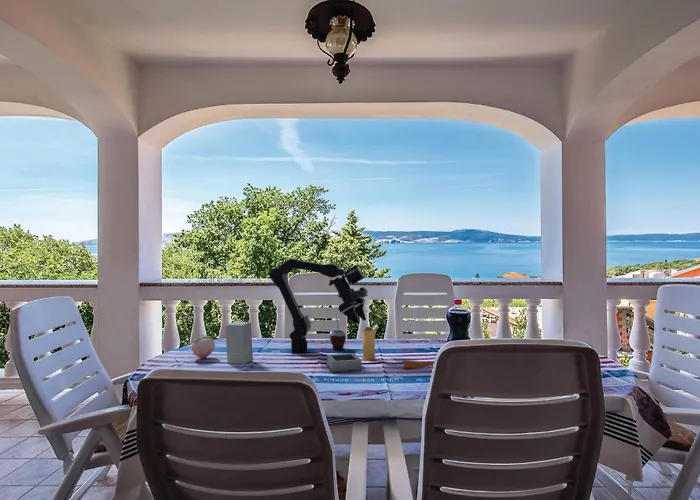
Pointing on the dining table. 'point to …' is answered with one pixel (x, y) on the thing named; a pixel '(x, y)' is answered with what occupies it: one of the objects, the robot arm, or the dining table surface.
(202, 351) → the decorative fruit
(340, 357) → the gray square dish
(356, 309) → the robot arm
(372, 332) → the tan cylinder
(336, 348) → the mate gourd
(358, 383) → the dining table surface
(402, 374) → the dining table surface
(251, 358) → the skincare box
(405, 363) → the kendama
